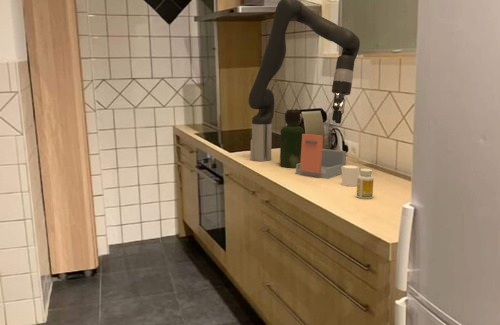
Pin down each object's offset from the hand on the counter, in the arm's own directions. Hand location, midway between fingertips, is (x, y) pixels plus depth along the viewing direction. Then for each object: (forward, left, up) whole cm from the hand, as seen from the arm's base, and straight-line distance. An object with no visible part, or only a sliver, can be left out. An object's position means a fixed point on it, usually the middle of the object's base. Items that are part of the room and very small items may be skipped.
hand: (336, 122), depth 203 cm
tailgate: (-9, -3, -20) cm, 22 cm away
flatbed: (-6, +5, -22) cm, 24 cm away
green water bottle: (-21, +16, -22) cm, 35 cm away
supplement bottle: (+15, -29, -22) cm, 40 cm away
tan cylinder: (+8, -12, -22) cm, 27 cm away
